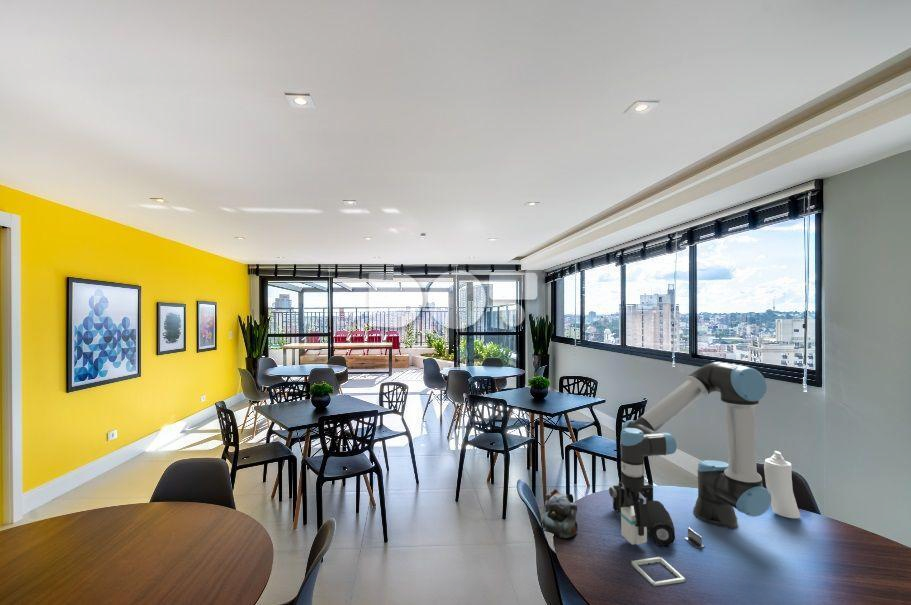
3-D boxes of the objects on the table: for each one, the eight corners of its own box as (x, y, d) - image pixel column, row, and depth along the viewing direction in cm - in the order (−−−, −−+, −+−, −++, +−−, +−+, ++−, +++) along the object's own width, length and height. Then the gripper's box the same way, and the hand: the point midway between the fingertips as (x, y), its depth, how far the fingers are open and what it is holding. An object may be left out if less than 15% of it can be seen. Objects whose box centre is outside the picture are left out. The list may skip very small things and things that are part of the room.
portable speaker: (680, 530, 141) (670, 504, 160) (652, 518, 144) (645, 494, 163) (673, 552, 142) (663, 524, 160) (645, 540, 145) (638, 514, 163)
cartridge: (636, 532, 148) (635, 505, 148) (647, 542, 142) (646, 513, 142) (621, 534, 147) (620, 507, 147) (631, 544, 141) (631, 516, 141)
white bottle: (791, 522, 159) (790, 459, 159) (760, 510, 169) (760, 450, 169) (804, 514, 165) (804, 453, 165) (773, 503, 174) (773, 445, 174)
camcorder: (608, 507, 172) (608, 483, 172) (649, 504, 174) (648, 481, 174) (634, 534, 152) (634, 507, 152) (679, 530, 154) (679, 504, 154)
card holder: (691, 537, 149) (691, 527, 149) (704, 547, 143) (704, 536, 143) (684, 538, 149) (684, 528, 149) (697, 548, 143) (697, 537, 143)
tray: (660, 562, 135) (660, 556, 135) (685, 584, 125) (685, 578, 125) (631, 566, 133) (631, 560, 133) (653, 590, 122) (653, 583, 122)
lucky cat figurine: (533, 526, 157) (535, 489, 158) (553, 517, 165) (554, 483, 165) (565, 544, 145) (566, 505, 146) (585, 534, 153) (586, 497, 153)
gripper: (607, 463, 153) (608, 524, 153) (640, 486, 134) (641, 555, 134) (625, 461, 155) (626, 522, 155) (660, 483, 136) (661, 552, 136)
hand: (633, 537), depth 144 cm, fingers closed on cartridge, 6 cm apart
